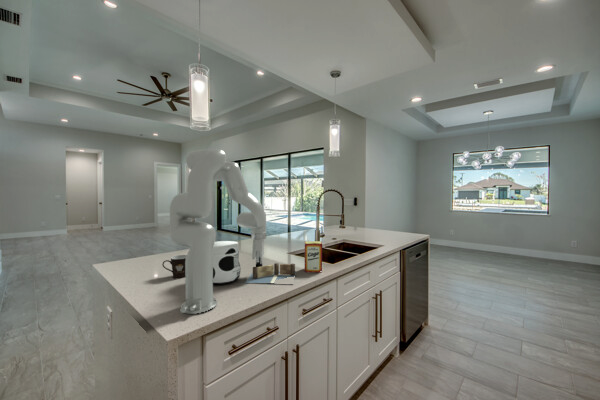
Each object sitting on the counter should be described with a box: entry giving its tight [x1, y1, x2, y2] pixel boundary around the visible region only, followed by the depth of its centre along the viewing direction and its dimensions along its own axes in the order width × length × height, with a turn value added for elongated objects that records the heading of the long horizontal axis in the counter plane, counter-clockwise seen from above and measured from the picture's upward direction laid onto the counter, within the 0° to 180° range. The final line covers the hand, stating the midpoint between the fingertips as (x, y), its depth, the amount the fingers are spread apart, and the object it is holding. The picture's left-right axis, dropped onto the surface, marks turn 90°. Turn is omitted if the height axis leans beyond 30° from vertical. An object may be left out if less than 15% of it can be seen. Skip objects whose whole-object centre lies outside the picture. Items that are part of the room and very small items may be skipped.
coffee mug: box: [161, 254, 187, 280], centre depth 126 cm, size 12×9×10 cm
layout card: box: [244, 271, 297, 284], centre depth 125 cm, size 18×23×1 cm
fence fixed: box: [273, 262, 296, 276], centre depth 129 cm, size 11×2×6 cm, turn 86°
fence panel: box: [252, 264, 274, 279], centre depth 125 cm, size 11×2×5 cm, turn 124°
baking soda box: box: [304, 240, 323, 273], centre depth 137 cm, size 10×6×16 cm
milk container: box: [213, 240, 242, 285], centre depth 120 cm, size 17×17×18 cm
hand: (259, 271), depth 126 cm, fingers closed
